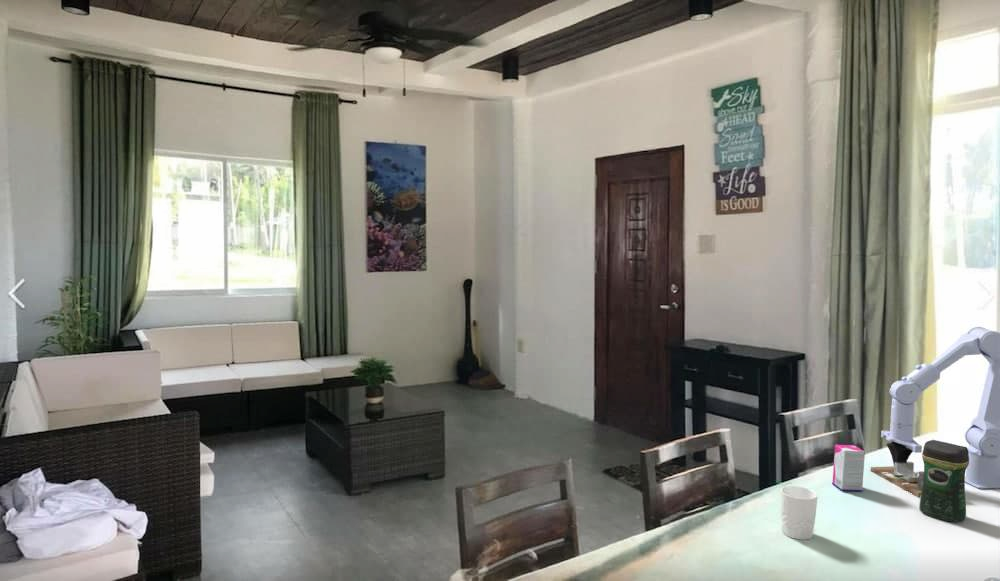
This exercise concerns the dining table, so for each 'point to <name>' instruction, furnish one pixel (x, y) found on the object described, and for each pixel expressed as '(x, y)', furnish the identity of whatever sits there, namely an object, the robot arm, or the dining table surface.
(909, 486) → the gauge frame
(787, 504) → the white cup
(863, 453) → the supplement box
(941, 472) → the coffee jar
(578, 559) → the dining table surface
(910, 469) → the brushed steel block
